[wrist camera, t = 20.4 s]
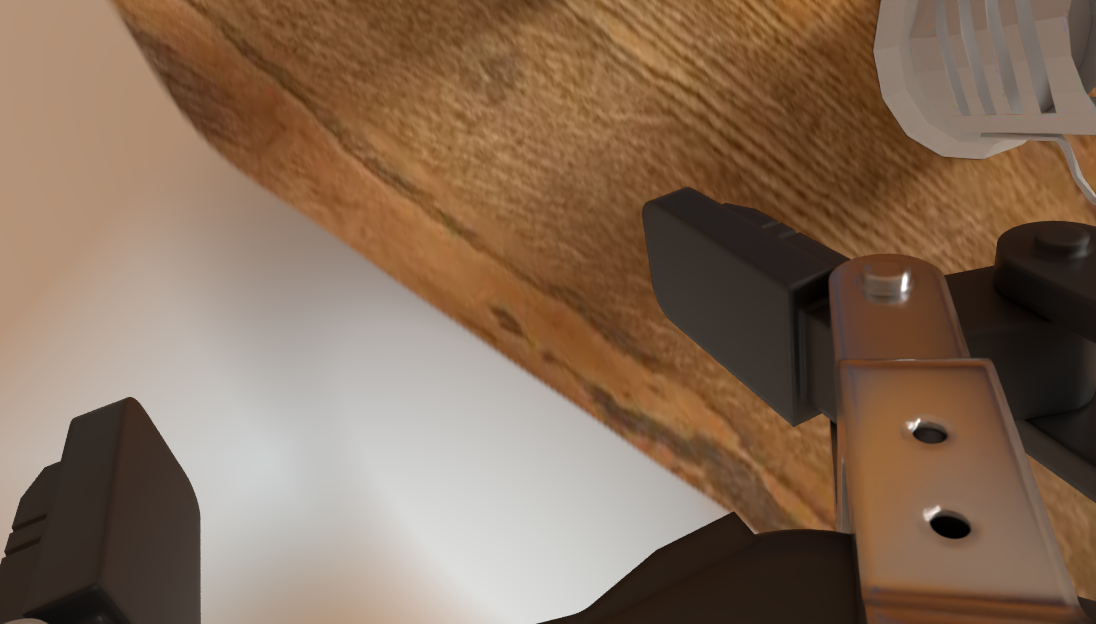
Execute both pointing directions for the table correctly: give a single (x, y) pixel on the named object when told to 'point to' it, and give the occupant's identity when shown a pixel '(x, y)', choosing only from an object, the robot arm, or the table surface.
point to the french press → (989, 73)
